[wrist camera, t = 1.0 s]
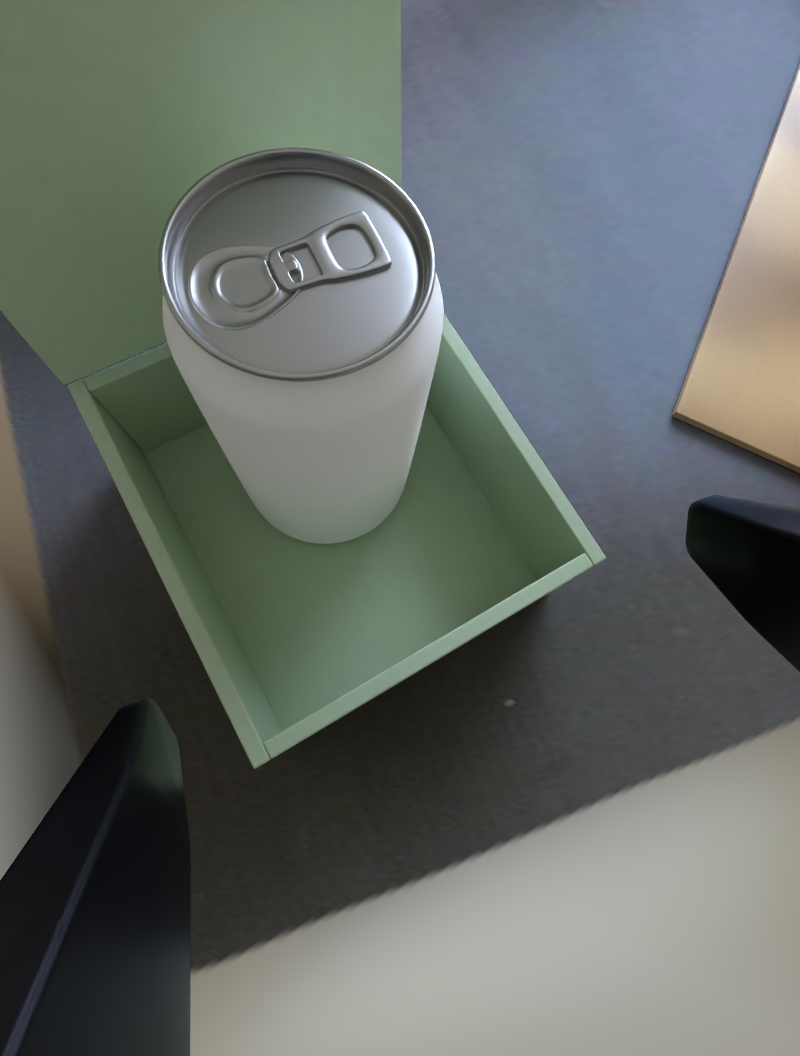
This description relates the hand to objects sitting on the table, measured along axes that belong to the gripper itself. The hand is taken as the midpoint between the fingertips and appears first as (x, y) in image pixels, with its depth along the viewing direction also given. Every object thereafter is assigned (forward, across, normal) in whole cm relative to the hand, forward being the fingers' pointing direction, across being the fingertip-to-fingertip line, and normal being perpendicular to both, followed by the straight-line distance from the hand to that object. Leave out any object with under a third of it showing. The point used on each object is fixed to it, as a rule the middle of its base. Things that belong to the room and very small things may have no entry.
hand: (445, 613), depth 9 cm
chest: (+14, 0, +6) cm, 15 cm away
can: (+15, 0, +4) cm, 15 cm away
